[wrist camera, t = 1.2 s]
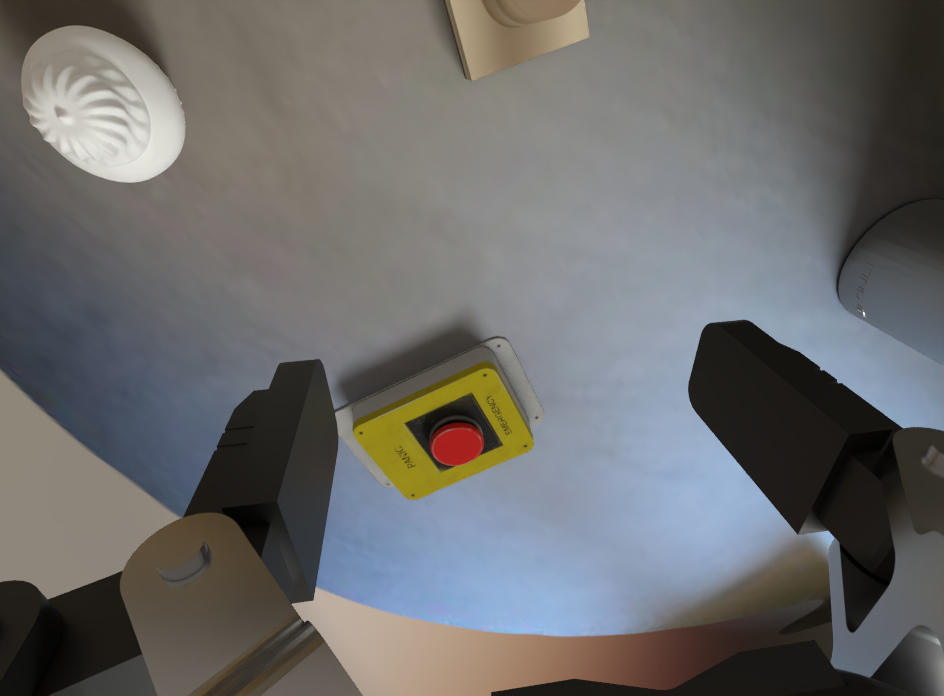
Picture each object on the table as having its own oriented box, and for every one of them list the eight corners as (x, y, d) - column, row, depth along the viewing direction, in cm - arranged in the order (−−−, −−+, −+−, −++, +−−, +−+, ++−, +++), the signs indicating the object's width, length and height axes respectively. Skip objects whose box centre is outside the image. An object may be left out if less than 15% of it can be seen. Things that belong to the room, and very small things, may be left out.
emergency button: (561, 452, 35) (385, 528, 37) (546, 415, 39) (386, 485, 41) (516, 361, 31) (315, 453, 32) (503, 328, 34) (324, 412, 36)
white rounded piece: (49, 28, 22) (-79, 17, 16) (189, 31, 23) (115, 22, 17) (101, 168, 25) (10, 202, 19) (222, 167, 26) (170, 199, 20)
